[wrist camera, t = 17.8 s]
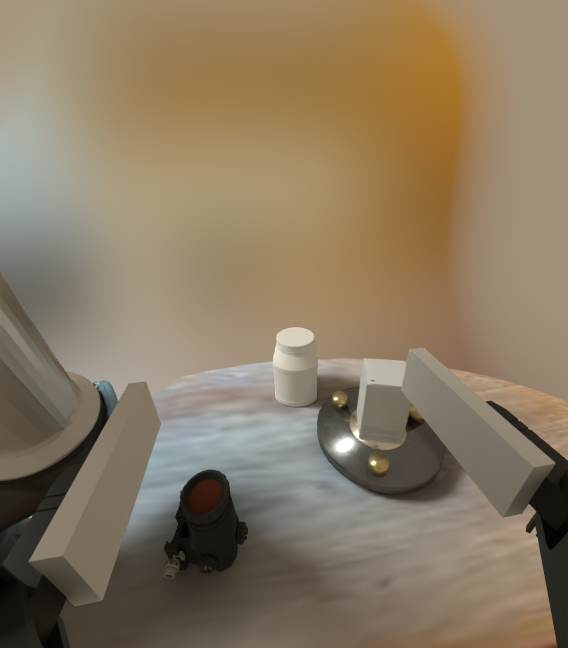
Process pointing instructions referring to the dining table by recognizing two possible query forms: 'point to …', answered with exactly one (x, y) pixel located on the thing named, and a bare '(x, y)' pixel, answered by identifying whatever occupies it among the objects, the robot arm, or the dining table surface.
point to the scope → (205, 526)
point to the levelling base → (378, 448)
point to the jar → (295, 367)
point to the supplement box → (382, 401)
